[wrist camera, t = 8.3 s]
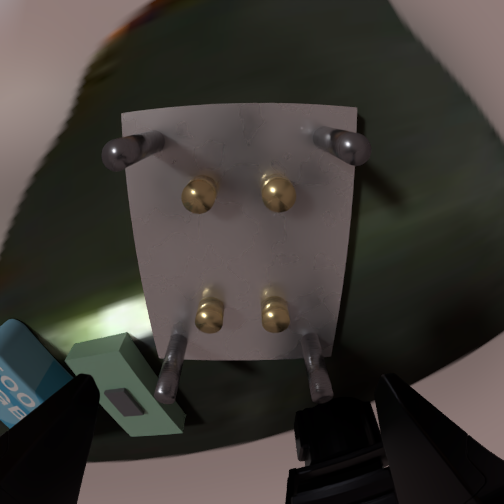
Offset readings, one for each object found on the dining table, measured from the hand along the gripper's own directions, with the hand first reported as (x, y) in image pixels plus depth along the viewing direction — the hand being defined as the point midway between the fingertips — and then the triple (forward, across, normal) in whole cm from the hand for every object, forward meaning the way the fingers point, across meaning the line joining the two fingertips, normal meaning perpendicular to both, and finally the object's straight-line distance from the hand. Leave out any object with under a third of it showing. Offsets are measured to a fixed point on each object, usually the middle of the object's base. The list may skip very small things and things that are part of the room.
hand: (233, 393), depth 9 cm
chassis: (+11, 0, 0) cm, 11 cm away
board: (+11, +10, +12) cm, 19 cm away
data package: (+9, +27, +17) cm, 33 cm away
